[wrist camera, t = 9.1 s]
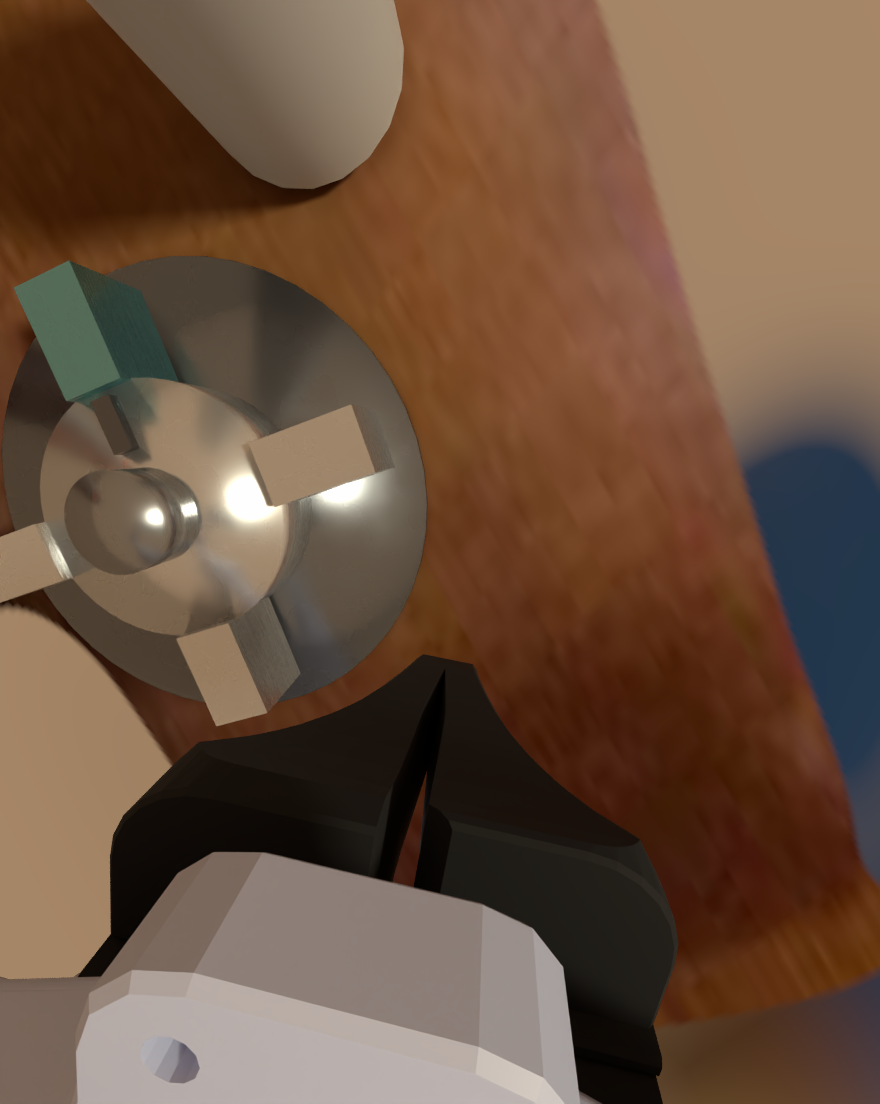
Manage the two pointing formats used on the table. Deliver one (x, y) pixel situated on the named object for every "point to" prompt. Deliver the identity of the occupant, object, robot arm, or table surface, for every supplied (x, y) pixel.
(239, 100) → the can
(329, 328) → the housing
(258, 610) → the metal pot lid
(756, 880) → the table surface
